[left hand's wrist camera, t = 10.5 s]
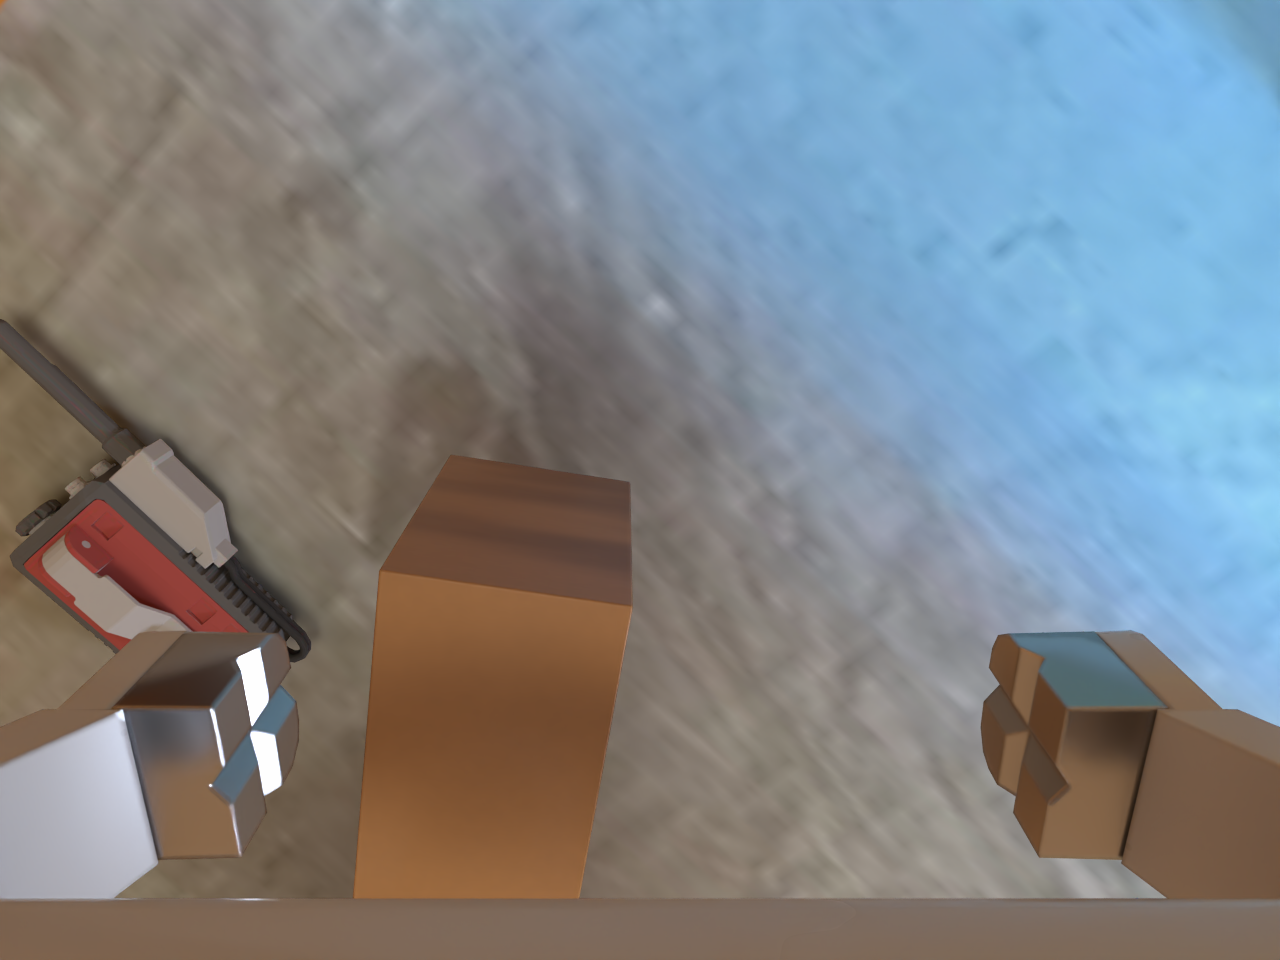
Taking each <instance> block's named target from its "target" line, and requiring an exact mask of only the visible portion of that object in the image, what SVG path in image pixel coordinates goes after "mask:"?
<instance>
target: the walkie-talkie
mask: <svg viewBox="0 0 1280 960" xmlns="http://www.w3.org/2000/svg"><path fill="white" fill-rule="evenodd" d="M0 348H1V349H2V350H3V351H4V352H5V353H6V354H7V355H8V356H9V357H10V358H11V359H12V360H13V361H15V362H16V363H17V364H18V365H19V366H20V367H21V368H22V369H23V370H24V371H25V372H26V373H27V374H28V375H29V376H31V377H32V378H33V379H34V380H35V381H36V382H37V383H38V384H39V385H40V386H41V387H42V388H43V389H44V390H45V391H47V392H48V393H49V394H50V395H51V396H52V397H53V398H54V399H55V400H56V401H57V402H58V403H59V404H60V405H61V406H63V407H64V408H65V409H66V410H67V411H68V412H69V413H70V414H71V415H72V416H73V417H74V418H75V419H76V420H77V421H79V422H80V423H81V424H82V425H83V426H84V427H85V428H86V429H87V430H88V431H89V432H90V433H91V434H92V435H93V436H95V437H96V438H97V439H98V440H99V441H100V442H101V443H102V448H103V449H104V450H105V451H106V452H107V453H108V454H109V455H110V456H111V457H113V458H114V459H115V460H116V461H117V462H118V463H119V465H117V466H116V464H115V463H114V464H112V465H111V464H110V463H109V462H108V461H107V460H105V459H103V460H102V461H100V462H99V463H98V464H96V465H95V466H94V467H93V468H92V469H91V470H90V472H91V473H92V474H93V475H94V476H96V478H95V479H94V480H92V481H89V482H86V481H84V480H83V479H82V478H81V477H78V478H77V479H75V480H74V481H73V482H71V483H70V484H69V485H68V486H67V487H66V488H65V490H66V491H67V492H68V493H69V494H70V495H71V496H70V497H69V499H70V500H69V501H68V502H67V503H66V504H65V505H64V506H63V507H61V504H60V503H59V502H58V501H57V500H49V501H47V502H46V503H44V504H43V505H41V506H39V507H38V508H37V509H36V510H34V511H33V512H32V513H31V514H29V515H28V516H27V517H25V518H24V519H23V520H22V521H21V522H20V523H19V524H18V525H17V526H16V532H17V533H18V534H19V535H20V536H27V535H29V534H30V535H31V536H30V537H29V538H27V539H26V540H25V541H24V542H23V543H22V544H21V545H20V546H19V547H18V548H16V549H15V550H14V552H13V553H12V554H11V555H10V558H11V561H12V564H13V566H14V567H15V568H16V569H17V570H18V571H19V572H21V573H22V574H23V575H24V576H25V577H26V578H28V579H29V580H30V581H31V582H32V583H33V584H35V585H36V586H37V587H38V588H39V589H40V590H42V591H43V592H44V593H45V594H46V595H47V596H49V597H50V598H51V599H52V600H53V601H54V602H56V603H57V604H58V605H59V606H60V607H61V608H63V609H64V610H65V611H66V612H67V613H68V614H70V615H71V616H72V617H73V618H74V619H75V620H77V621H78V622H79V623H80V624H81V625H82V626H84V627H85V628H86V629H87V630H90V631H91V632H92V633H93V634H95V637H97V638H99V639H100V640H102V641H103V642H104V644H105V645H106V646H109V647H110V648H111V649H112V650H113V652H114V653H115V654H117V653H118V652H119V651H120V650H121V649H122V648H123V647H124V646H125V645H126V644H128V643H129V642H130V641H131V640H132V639H133V638H134V637H135V636H136V635H137V634H138V633H143V632H152V631H189V632H247V633H279V635H280V636H281V637H282V638H283V639H284V640H285V641H287V640H288V638H289V637H290V636H291V637H292V638H293V639H295V640H296V642H297V643H298V645H299V646H300V650H293V649H290V648H289V647H288V646H287V649H288V655H289V660H290V662H297V661H299V660H302V659H304V658H305V657H306V656H307V654H308V653H309V651H310V650H311V641H310V639H309V638H308V636H307V634H306V632H305V631H304V630H303V629H302V628H301V627H300V626H298V625H297V624H296V623H295V622H294V621H293V615H292V614H290V613H289V612H287V611H286V609H285V608H284V607H282V606H281V605H280V604H279V603H278V601H277V600H276V599H274V598H273V597H271V596H270V594H269V593H268V592H266V591H265V590H264V589H263V588H262V586H261V585H260V584H258V583H256V582H255V581H254V580H253V578H252V577H251V576H249V575H248V574H247V573H246V572H245V570H244V569H242V568H241V566H240V563H239V562H238V560H237V559H236V558H235V557H234V556H233V555H234V554H235V553H236V552H237V551H238V550H237V549H236V548H235V547H234V546H233V545H232V544H231V541H230V536H229V531H228V526H227V521H226V517H225V512H224V507H223V503H222V502H221V500H220V499H219V498H218V497H217V496H216V495H215V494H214V493H213V492H212V491H211V490H209V489H208V488H207V487H206V486H205V485H204V484H203V483H202V482H201V481H200V480H199V479H198V478H197V477H196V476H195V475H194V474H193V473H192V472H191V471H190V470H189V469H188V468H187V467H186V466H185V465H184V464H182V463H181V462H180V461H179V460H178V459H177V458H176V457H175V456H174V454H173V450H172V449H171V448H170V447H169V446H168V445H167V444H166V443H165V442H164V441H163V440H162V439H159V440H157V441H156V442H154V443H152V444H151V445H149V446H147V447H146V446H144V445H143V444H142V443H141V442H140V441H139V440H138V439H137V438H136V437H135V436H134V435H133V434H132V433H131V432H130V431H129V430H128V429H121V428H120V427H119V426H118V425H117V424H116V423H115V422H114V421H113V420H112V419H111V418H110V417H109V416H108V415H107V414H106V413H105V412H104V411H102V410H101V409H100V408H99V407H98V406H97V405H96V404H95V403H94V402H93V401H92V400H91V399H90V398H89V397H88V396H87V395H86V394H85V393H84V392H83V391H82V390H81V389H79V388H78V387H77V386H76V385H75V384H74V383H73V382H72V381H71V380H70V379H69V378H68V377H67V376H66V375H65V374H64V373H63V372H62V371H61V370H60V369H59V368H58V367H57V366H55V365H53V364H51V363H50V362H49V361H48V360H47V359H45V358H44V357H43V356H42V355H41V354H40V353H39V352H38V351H37V350H36V349H35V348H34V347H33V346H32V345H31V344H29V343H28V342H27V341H26V340H25V339H24V338H23V337H22V336H21V335H20V334H19V333H18V332H17V331H16V330H15V329H13V328H12V327H11V326H10V325H9V324H8V323H7V322H6V321H4V320H2V319H0ZM115 466H116V467H115Z"/></svg>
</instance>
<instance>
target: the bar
mask: <svg viewBox="0 0 1280 960" xmlns="http://www.w3.org/2000/svg"><path fill="white" fill-rule="evenodd" d="M632 609H633V591H632V543H631V495H630V482H626V481H620V480H613V479H607V478H600V477H594V476H587V475H581V474H574V473H568V472H561V471H555V470H548V469H541V468H535V467H528V466H522V465H515V464H509V463H502V462H496V461H489V460H483V459H476V458H470V457H463V456H457V455H450V457H449V458H448V460H447V462H446V463H445V465H444V466H443V468H442V470H441V471H440V473H439V475H438V476H437V478H436V480H435V481H434V483H433V484H432V486H431V488H430V489H429V491H428V493H427V494H426V496H425V497H424V499H423V501H422V502H421V504H420V506H419V507H418V509H417V510H416V512H415V514H414V515H413V517H412V519H411V520H410V522H409V523H408V525H407V527H406V528H405V530H404V532H403V533H402V535H401V536H400V538H399V540H398V541H397V543H396V545H395V546H394V548H393V550H392V551H391V553H390V554H389V556H388V558H387V559H386V561H385V563H384V564H383V566H382V567H381V569H380V571H379V581H378V593H377V605H376V618H375V630H374V643H373V655H372V668H371V680H370V693H369V705H368V717H367V730H366V742H365V755H364V767H363V780H362V792H361V805H360V817H359V829H358V842H357V854H356V867H355V879H354V892H353V898H508V899H579V897H580V891H581V886H582V881H583V875H584V870H585V864H586V859H587V853H588V848H589V843H590V837H591V832H592V826H593V821H594V815H595V810H596V805H597V799H598V794H599V788H600V783H601V778H602V772H603V767H604V761H605V756H606V750H607V745H608V740H609V734H610V729H611V723H612V718H613V712H614V707H615V702H616V696H617V691H618V685H619V680H620V674H621V669H622V664H623V658H624V653H625V647H626V642H627V637H628V631H629V626H630V620H631V615H632Z"/></svg>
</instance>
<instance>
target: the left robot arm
mask: <svg viewBox="0 0 1280 960" xmlns="http://www.w3.org/2000/svg"><path fill="white" fill-rule="evenodd" d="M290 669H291V665H290V660H289V655H288V649H287V644H286V641H285V640H284V639H283V638H282V637H281V636H280V635H279V633H247V632H189V631H152V632H143V633H138V634H137V635H136V636H135V637H134V638H133V639H132V640H131V641H130V642H129V643H128V644H126V645H125V646H124V647H123V648H122V649H121V650H120V651H119V652H118V653H117V654H116V655H115V656H114V657H113V658H112V659H110V660H109V661H108V662H107V663H106V664H105V665H104V666H103V667H102V668H101V669H100V670H99V671H98V672H97V673H96V674H94V675H93V676H92V677H91V678H90V679H89V680H88V681H87V682H86V683H85V684H84V685H83V686H82V687H81V688H80V689H78V690H77V691H76V692H75V693H74V694H73V695H72V696H71V697H70V698H69V699H68V700H67V701H66V702H65V703H63V704H62V705H61V706H60V707H59V708H58V709H42V710H40V711H38V712H35V713H33V714H30V715H28V716H26V717H23V718H21V719H18V720H16V721H14V722H11V723H9V724H6V725H4V726H2V727H0V960H1280V727H1278V726H1276V725H1274V724H1271V723H1269V722H1266V721H1264V720H1262V719H1259V718H1257V717H1254V716H1252V715H1250V714H1247V713H1245V712H1242V711H1240V710H1238V709H1222V708H1221V707H1220V706H1219V705H1218V704H1217V703H1216V702H1214V701H1213V700H1212V699H1211V698H1210V697H1209V696H1208V695H1207V694H1206V693H1205V692H1204V691H1203V690H1202V689H1201V688H1200V687H1198V686H1197V685H1196V684H1195V683H1194V682H1193V681H1192V680H1191V679H1190V678H1189V677H1188V676H1187V675H1186V674H1185V673H1184V672H1183V671H1181V670H1180V669H1179V668H1178V667H1177V666H1176V665H1175V664H1174V663H1173V662H1172V661H1171V660H1170V659H1169V658H1168V657H1167V656H1165V655H1164V654H1163V653H1162V652H1161V651H1160V650H1159V649H1158V648H1157V647H1156V646H1155V645H1154V644H1153V643H1152V642H1151V641H1150V640H1148V639H1147V638H1146V637H1145V636H1144V635H1143V634H1141V633H1138V632H1134V631H1131V630H1128V631H1104V632H1053V633H1012V634H1002V635H998V637H997V639H996V641H995V643H994V645H993V648H992V653H991V659H990V664H989V669H990V670H991V672H992V673H993V675H994V676H995V678H996V679H997V681H998V682H999V684H1000V685H999V686H998V687H997V688H996V689H995V690H994V691H993V692H992V693H991V694H990V695H989V696H988V698H987V699H986V700H985V701H984V703H983V712H982V720H981V736H982V746H983V753H984V756H985V759H986V762H987V765H988V768H989V770H990V772H991V774H992V776H993V778H994V780H995V781H996V783H997V785H999V786H1000V787H1002V788H1004V789H1005V790H1007V791H1008V792H1010V793H1011V794H1013V795H1015V796H1016V798H1015V804H1014V810H1013V813H1014V815H1015V817H1016V818H1017V820H1018V822H1019V824H1020V825H1021V827H1022V829H1023V831H1024V832H1025V834H1026V836H1027V837H1028V839H1029V841H1030V843H1031V844H1032V846H1033V848H1034V850H1035V851H1036V853H1037V855H1038V856H1039V858H1076V859H1112V860H1122V862H1121V863H1122V864H1123V865H1124V866H1125V867H1127V868H1128V869H1129V870H1131V871H1132V872H1133V873H1135V874H1136V875H1137V876H1139V877H1140V878H1141V879H1143V880H1144V881H1145V882H1147V883H1148V884H1149V885H1151V886H1152V887H1153V888H1154V889H1156V890H1157V891H1158V892H1160V893H1161V894H1162V895H1164V896H1165V897H1166V898H737V899H736V898H733V899H732V898H726V899H725V898H722V899H721V898H718V899H717V898H711V899H710V898H707V899H706V898H704V899H703V898H700V899H699V898H696V899H695V898H693V899H691V898H689V899H688V898H686V899H684V898H682V899H680V898H678V899H676V898H675V899H673V898H671V899H669V898H667V899H665V898H663V899H661V898H660V899H658V898H657V899H654V898H653V899H650V898H649V899H647V898H646V899H643V898H642V899H639V898H638V899H632V898H631V899H628V898H627V899H617V898H616V899H508V898H114V897H115V896H117V895H118V894H119V893H121V892H122V891H123V890H125V889H126V888H127V887H128V886H130V885H131V884H132V883H134V882H135V881H136V880H138V879H139V878H140V877H142V876H143V875H144V874H146V873H147V872H148V871H150V870H151V869H152V868H154V867H155V866H156V865H158V860H167V859H203V858H238V857H242V855H243V853H244V851H245V850H246V848H247V846H248V844H249V843H250V841H251V839H252V838H253V836H254V834H255V832H256V831H257V829H258V827H259V825H260V824H261V822H262V820H263V818H264V817H265V815H266V813H267V810H266V804H265V798H264V796H265V795H267V794H269V793H270V792H272V791H273V790H275V789H276V788H278V787H280V786H281V785H283V783H284V781H285V780H286V778H287V776H288V774H289V772H290V770H291V768H292V766H293V763H294V758H295V754H296V750H297V746H298V742H299V717H298V710H297V703H296V701H295V700H294V699H293V698H292V696H291V695H290V694H289V693H288V692H287V691H286V690H285V689H284V688H283V687H282V686H281V685H280V684H281V682H282V681H283V679H284V678H285V676H286V675H287V673H288V672H289V670H290Z"/></svg>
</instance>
